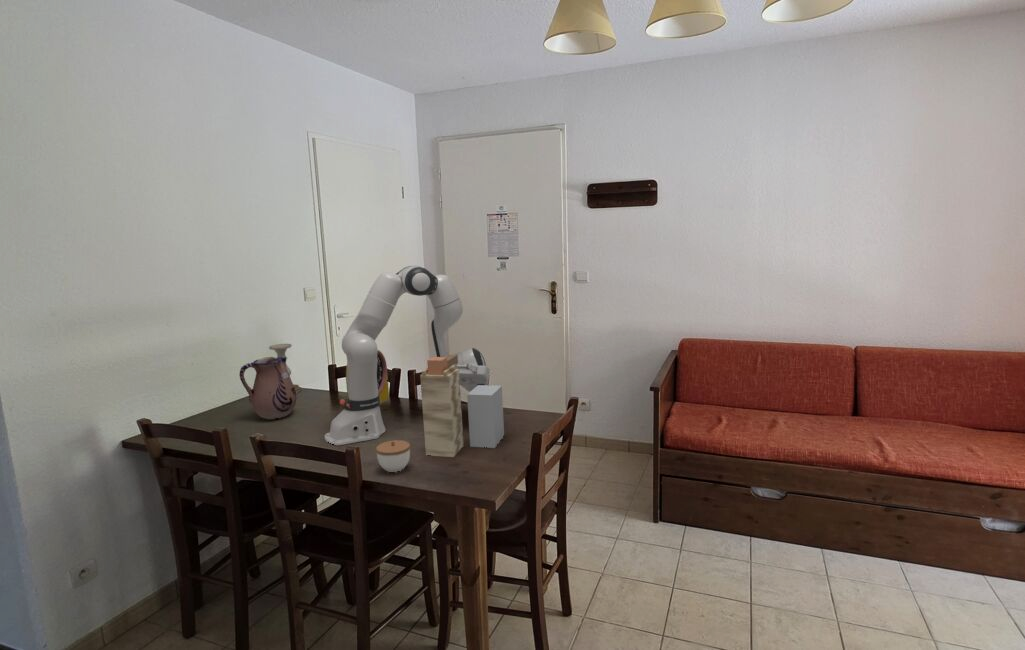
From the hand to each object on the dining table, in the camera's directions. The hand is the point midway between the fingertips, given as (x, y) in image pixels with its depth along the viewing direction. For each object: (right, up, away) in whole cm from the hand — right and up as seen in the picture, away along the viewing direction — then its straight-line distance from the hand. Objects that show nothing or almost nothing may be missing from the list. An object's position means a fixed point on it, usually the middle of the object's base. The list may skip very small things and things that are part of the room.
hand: (455, 365), depth 216 cm
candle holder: (-90, -19, +73) cm, 117 cm away
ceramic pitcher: (-81, -25, +36) cm, 92 cm away
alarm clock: (-43, -21, +49) cm, 68 cm away
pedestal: (+12, -27, -3) cm, 29 cm away
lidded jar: (-17, -32, -24) cm, 43 cm away
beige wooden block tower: (-3, -29, -10) cm, 31 cm away
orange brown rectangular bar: (-3, 0, -10) cm, 11 cm away
